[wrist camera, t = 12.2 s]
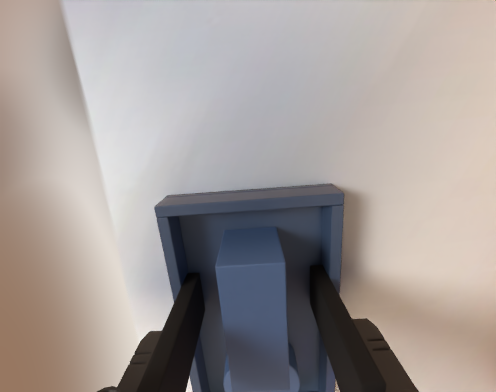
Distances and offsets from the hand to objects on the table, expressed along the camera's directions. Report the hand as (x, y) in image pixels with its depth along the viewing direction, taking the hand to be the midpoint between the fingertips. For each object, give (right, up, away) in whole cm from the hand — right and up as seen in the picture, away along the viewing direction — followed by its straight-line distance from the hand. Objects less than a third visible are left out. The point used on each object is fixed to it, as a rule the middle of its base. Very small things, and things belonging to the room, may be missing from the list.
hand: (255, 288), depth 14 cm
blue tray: (0, -2, +1) cm, 2 cm away
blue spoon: (0, -2, +1) cm, 2 cm away
